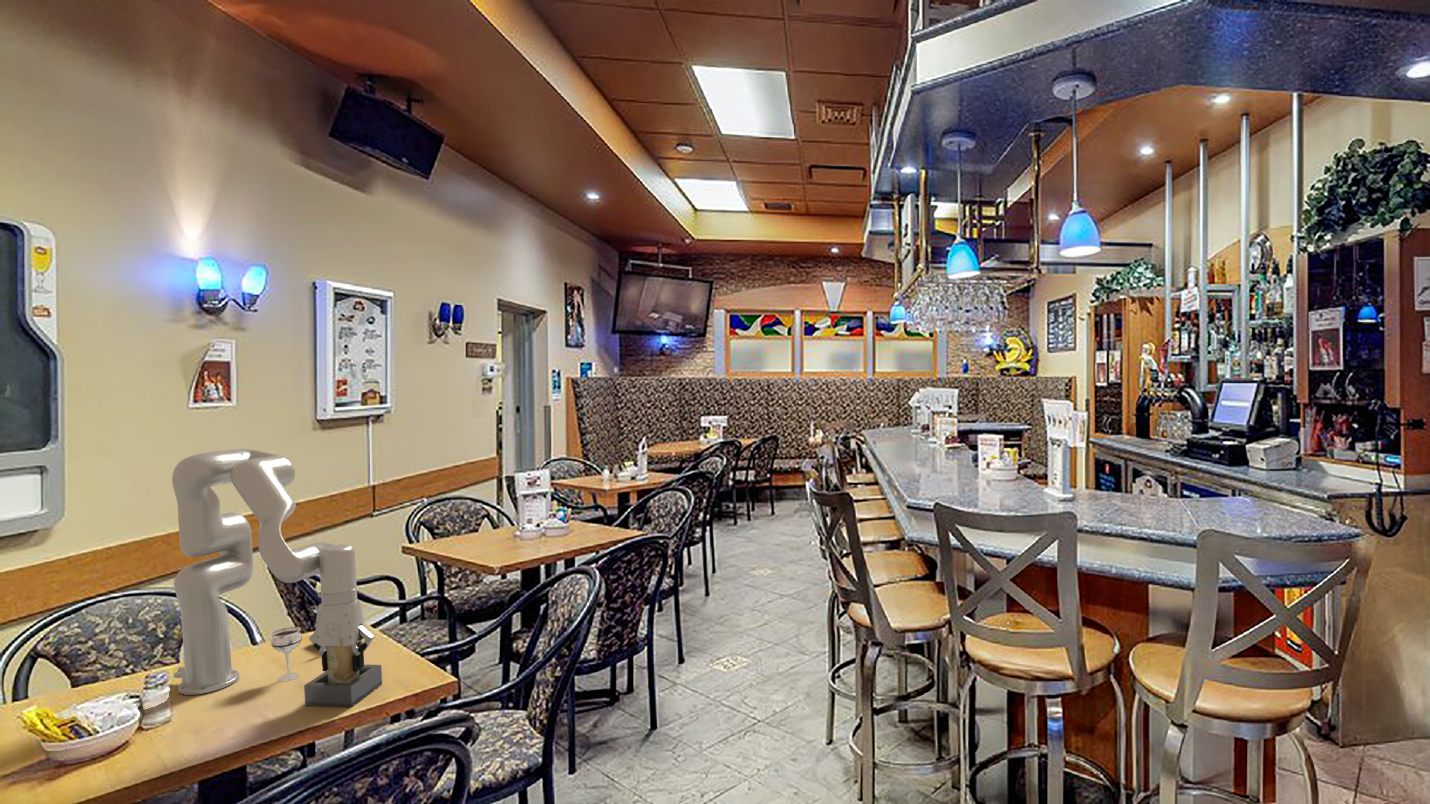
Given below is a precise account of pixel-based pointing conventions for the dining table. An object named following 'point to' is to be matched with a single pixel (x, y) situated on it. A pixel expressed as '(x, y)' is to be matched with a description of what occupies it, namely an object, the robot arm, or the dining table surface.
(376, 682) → the rectangular box socket
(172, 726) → the dining table surface
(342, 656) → the skincare box
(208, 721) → the dining table surface
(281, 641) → the wineglass
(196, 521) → the robot arm
